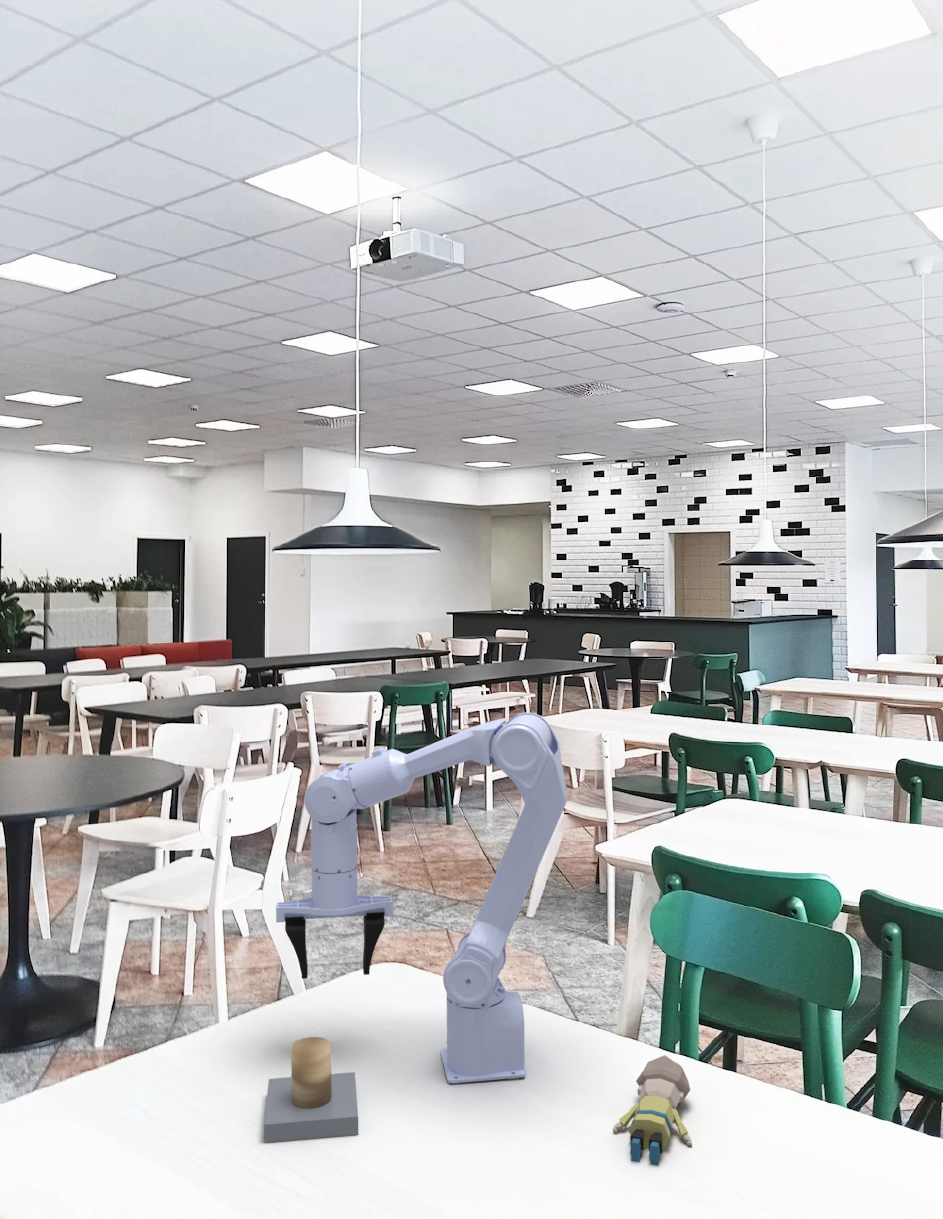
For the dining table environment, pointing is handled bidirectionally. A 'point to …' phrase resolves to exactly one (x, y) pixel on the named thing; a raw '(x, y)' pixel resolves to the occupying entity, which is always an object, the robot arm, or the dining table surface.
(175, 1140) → the dining table surface
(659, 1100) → the toy
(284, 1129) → the plate
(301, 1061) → the oak cylinder
